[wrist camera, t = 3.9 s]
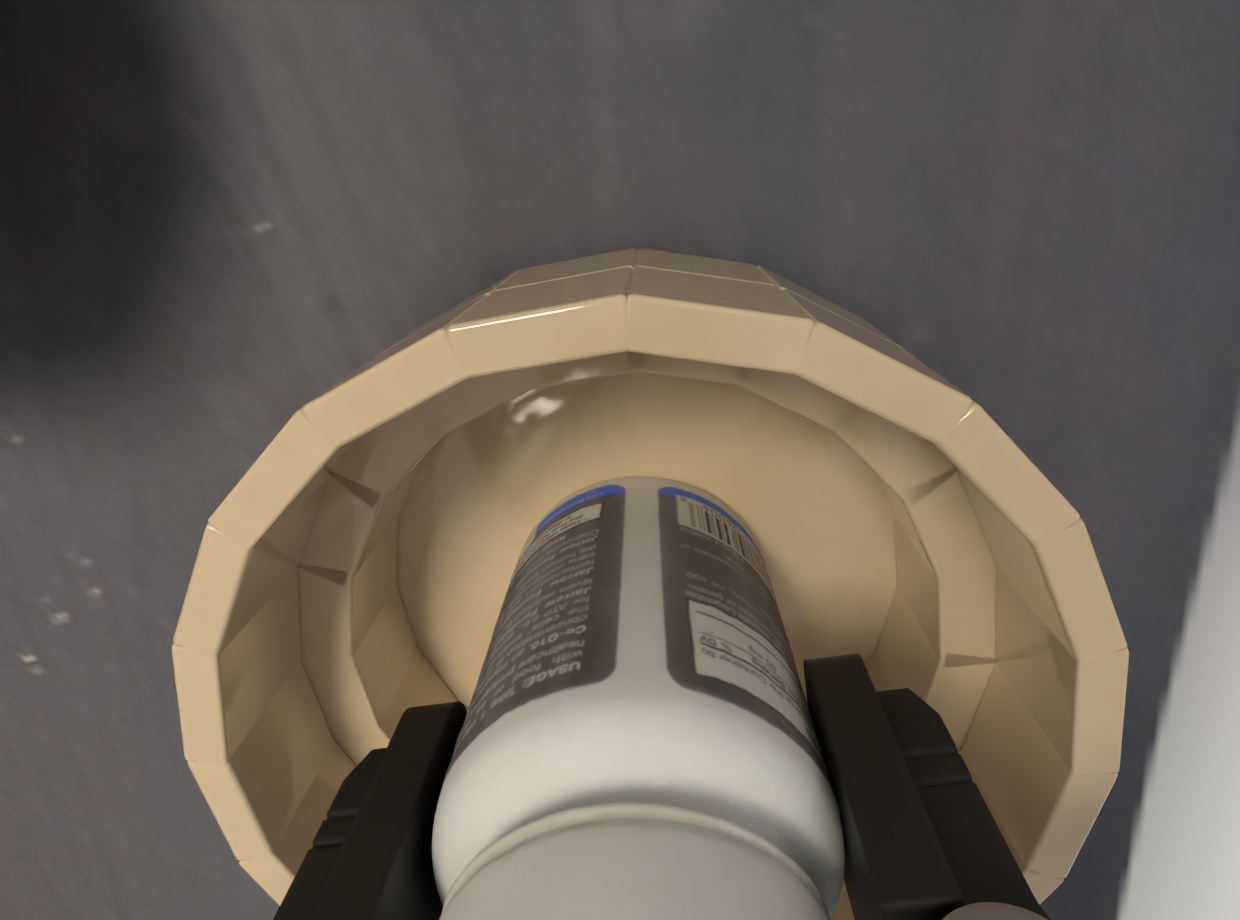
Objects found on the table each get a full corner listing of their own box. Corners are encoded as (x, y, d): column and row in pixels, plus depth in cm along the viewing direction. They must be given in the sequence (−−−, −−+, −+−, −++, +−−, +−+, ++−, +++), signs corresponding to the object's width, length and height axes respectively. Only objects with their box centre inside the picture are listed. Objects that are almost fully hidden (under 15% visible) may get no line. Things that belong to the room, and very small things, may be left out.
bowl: (237, 319, 13) (-1, 406, 8) (960, 183, 11) (1169, 195, 7) (430, 832, 17) (347, 1079, 12) (969, 777, 16) (1099, 1030, 11)
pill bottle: (531, 687, 15) (398, 1256, 7) (504, 473, 13) (288, 919, 5) (766, 682, 15) (895, 1271, 7) (771, 464, 13) (950, 918, 5)
